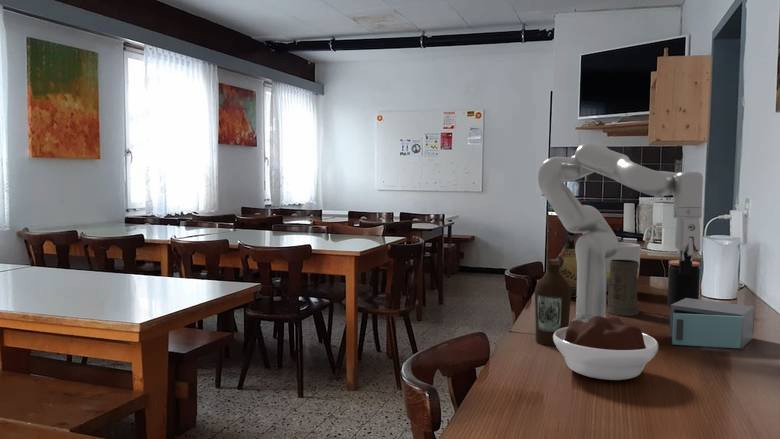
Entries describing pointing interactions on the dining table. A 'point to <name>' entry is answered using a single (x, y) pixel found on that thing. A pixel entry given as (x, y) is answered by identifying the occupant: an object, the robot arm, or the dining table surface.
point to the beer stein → (623, 287)
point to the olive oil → (551, 304)
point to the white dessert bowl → (605, 348)
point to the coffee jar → (682, 283)
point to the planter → (624, 256)
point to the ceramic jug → (569, 263)
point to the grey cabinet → (715, 312)
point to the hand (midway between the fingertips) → (685, 273)
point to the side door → (708, 330)
